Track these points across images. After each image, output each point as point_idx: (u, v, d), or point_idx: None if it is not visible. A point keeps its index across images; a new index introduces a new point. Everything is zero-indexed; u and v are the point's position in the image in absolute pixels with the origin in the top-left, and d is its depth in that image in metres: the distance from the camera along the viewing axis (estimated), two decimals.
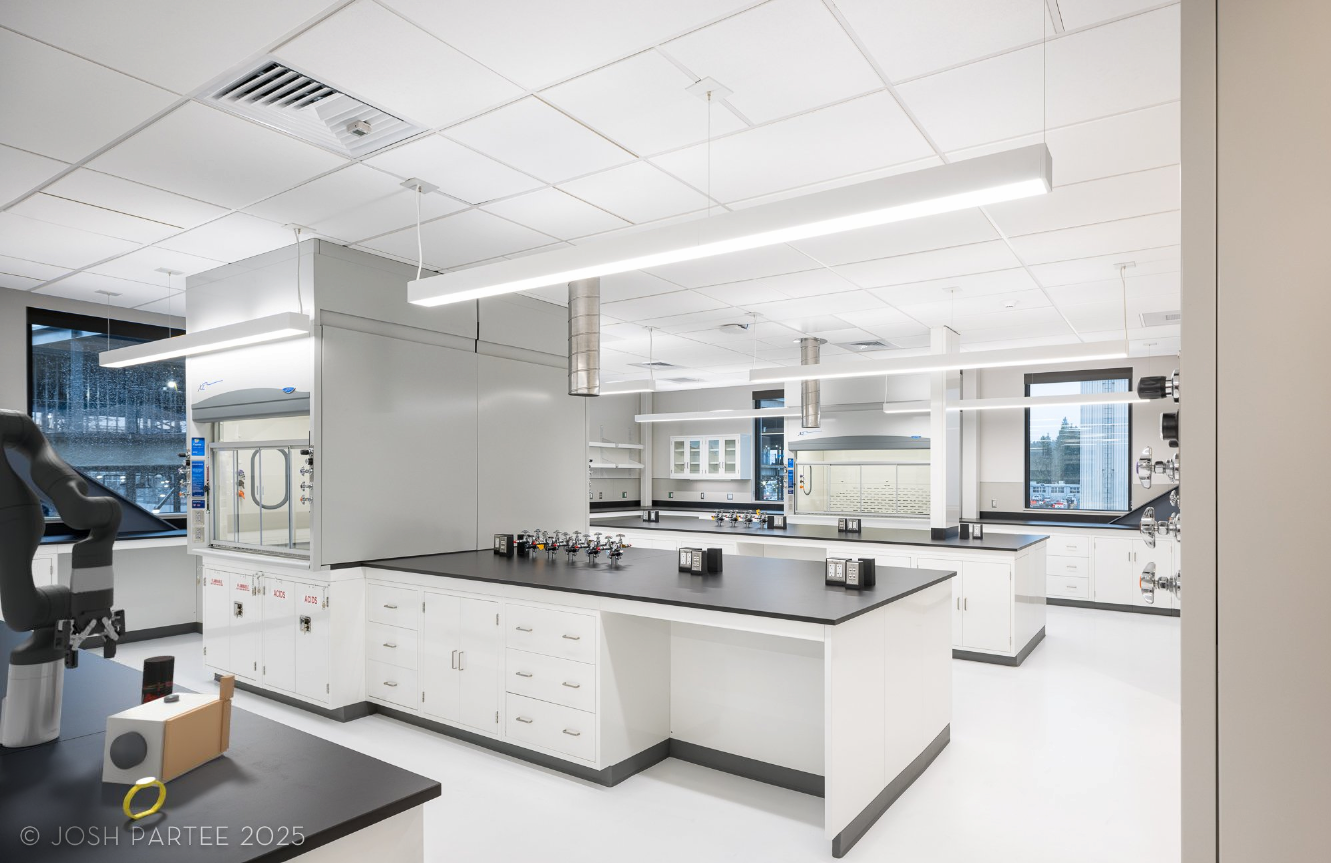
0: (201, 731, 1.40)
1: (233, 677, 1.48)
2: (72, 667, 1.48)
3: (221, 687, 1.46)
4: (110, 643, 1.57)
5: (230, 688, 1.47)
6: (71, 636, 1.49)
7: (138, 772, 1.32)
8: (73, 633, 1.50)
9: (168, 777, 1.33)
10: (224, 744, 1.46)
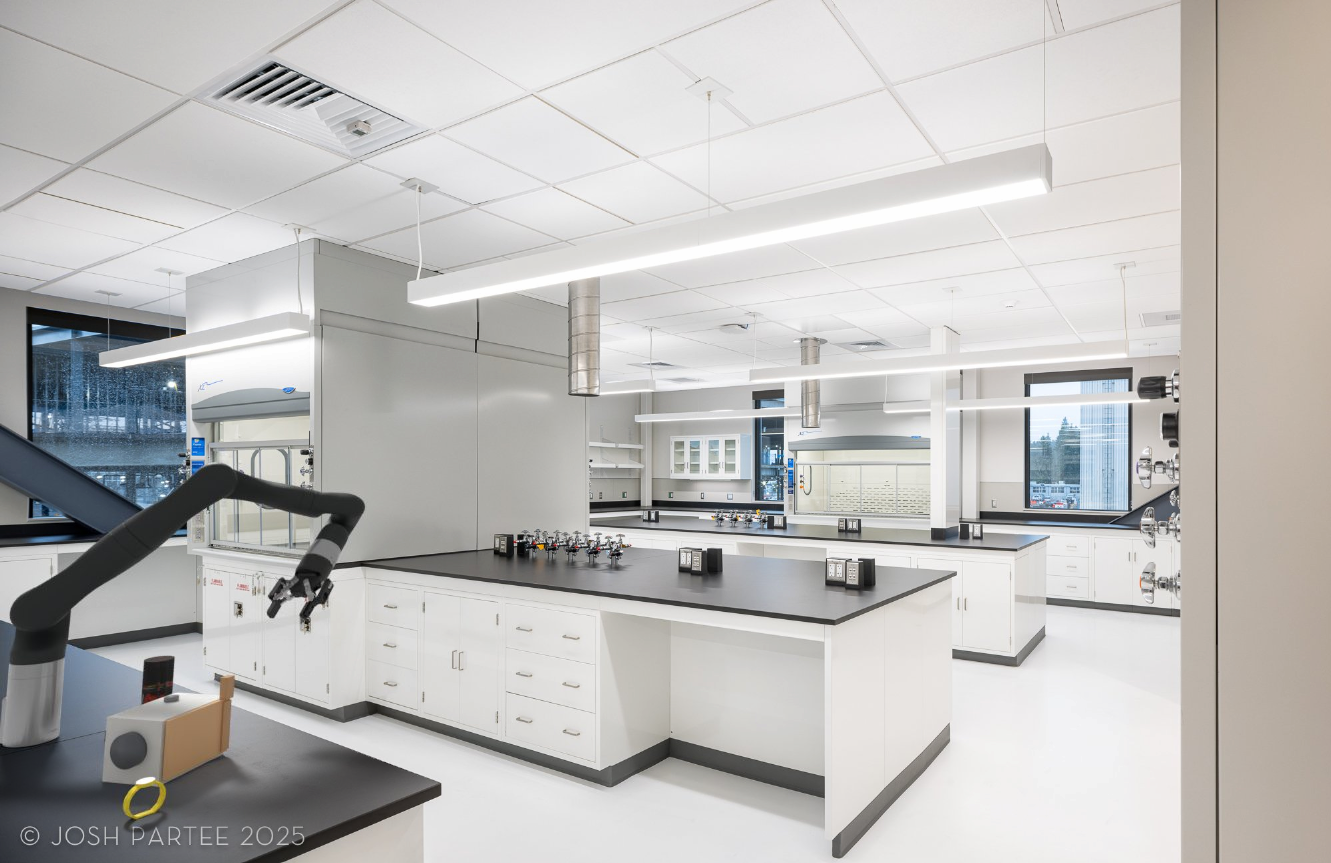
0: (201, 731, 1.40)
1: (233, 677, 1.48)
2: (305, 618, 1.64)
3: (221, 687, 1.46)
4: (279, 606, 1.68)
5: (230, 688, 1.47)
6: (312, 592, 1.68)
7: (138, 772, 1.32)
8: None
9: (168, 777, 1.33)
10: (224, 744, 1.46)
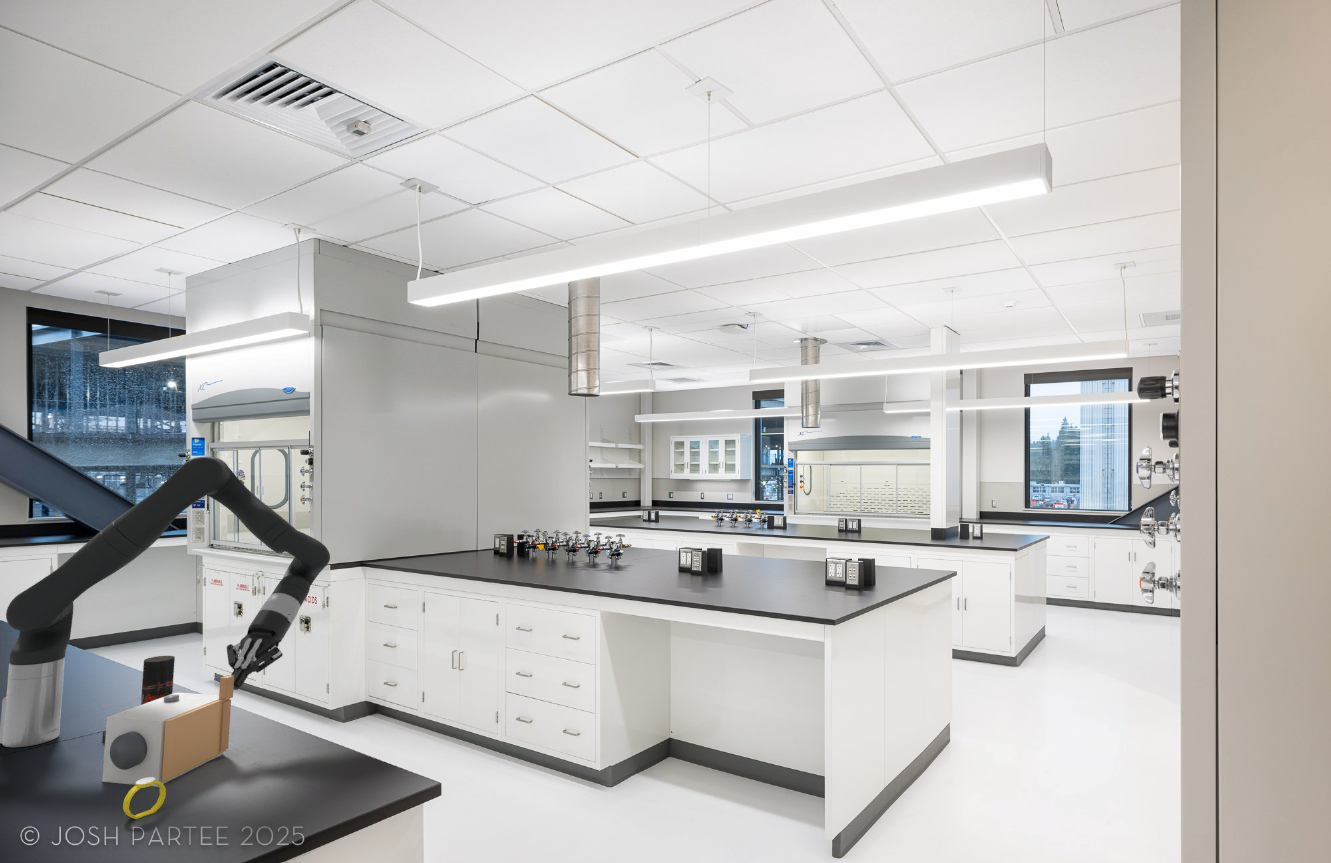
0: (200, 731, 1.40)
1: (233, 677, 1.47)
2: (236, 688, 1.49)
3: (221, 687, 1.46)
4: None
5: (229, 689, 1.46)
6: (254, 658, 1.52)
7: (138, 772, 1.32)
8: None
9: (167, 777, 1.32)
10: (224, 744, 1.46)
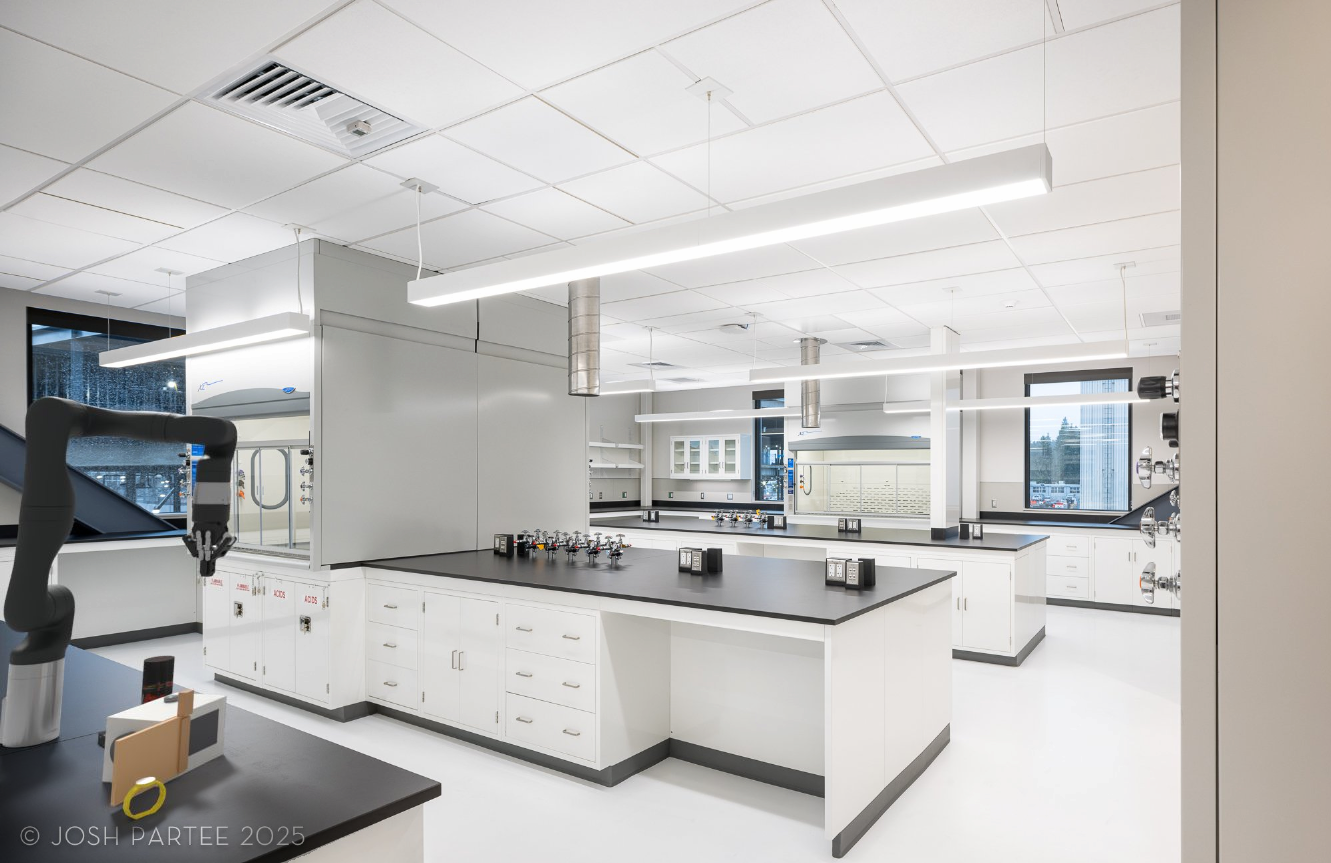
0: (155, 751, 1.30)
1: (193, 692, 1.37)
2: (211, 575, 1.64)
3: (179, 703, 1.35)
4: None
5: (189, 704, 1.36)
6: (212, 548, 1.63)
7: None
8: None
9: (117, 802, 1.22)
10: (182, 764, 1.35)
